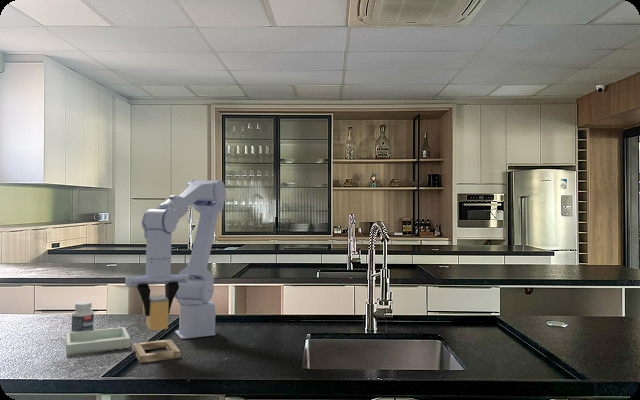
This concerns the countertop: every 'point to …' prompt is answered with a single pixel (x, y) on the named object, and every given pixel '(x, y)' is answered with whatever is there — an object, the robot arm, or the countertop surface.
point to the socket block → (143, 357)
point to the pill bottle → (82, 317)
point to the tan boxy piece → (158, 313)
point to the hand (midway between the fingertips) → (157, 314)
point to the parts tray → (96, 340)
